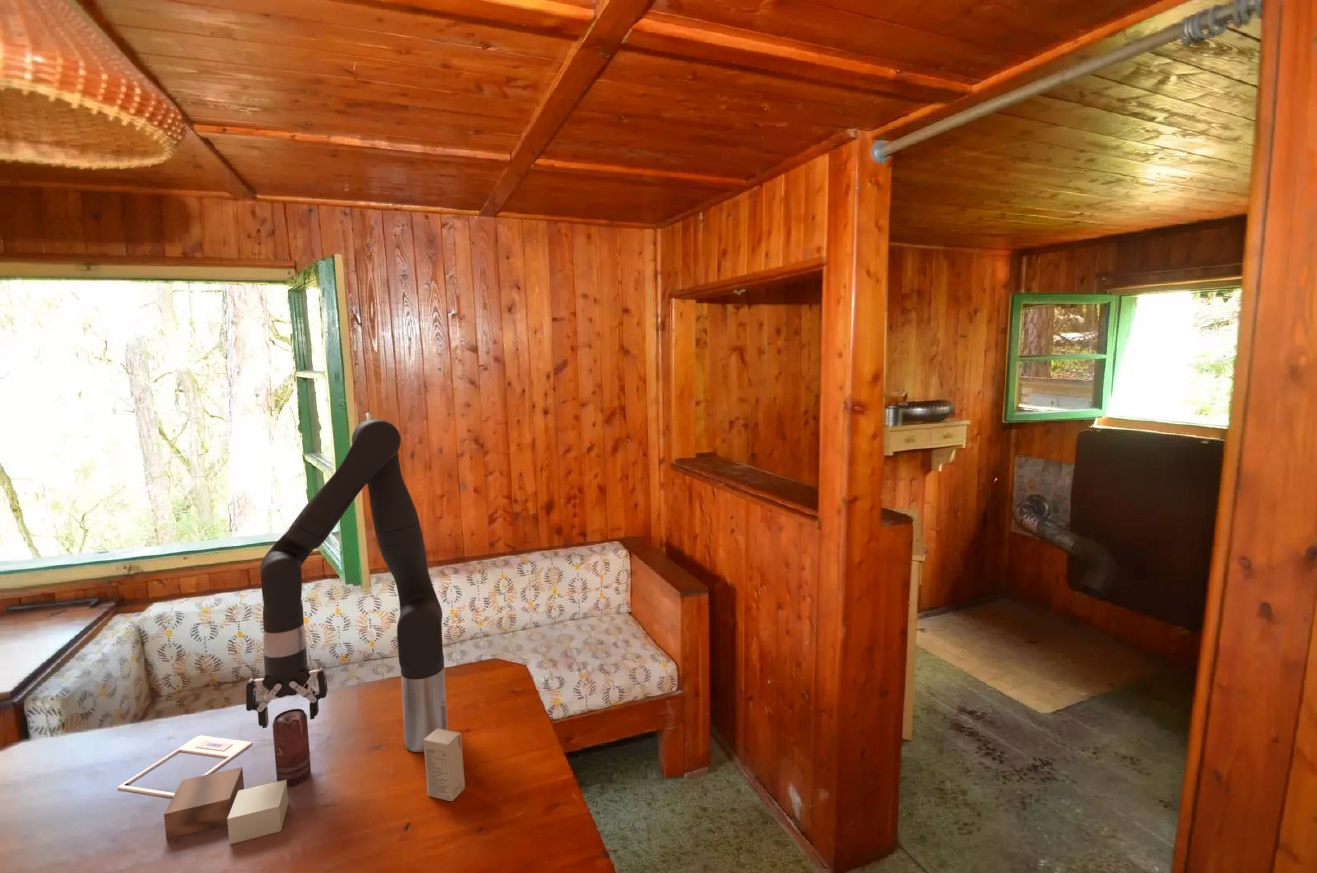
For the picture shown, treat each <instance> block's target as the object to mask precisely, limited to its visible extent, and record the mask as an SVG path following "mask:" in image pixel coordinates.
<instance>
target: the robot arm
mask: <svg viewBox="0 0 1317 873" xmlns="http://www.w3.org/2000/svg"><path fill="white" fill-rule="evenodd" d="M401 439H402V437H401V434H400V432H399V430H398V429H397V427H396V426H395V425H394V424H392V423H391V422H389V421H386V420H383V419H380V418H379V419H378V418H372V419H366V420H364V421H362V422H361V423H359V424H358V425H357V426H356V427H355V429H354V431H353V433H352V436H351V446H350V447H349V450H348V452H347V454H346V455H345V457H344V459H343V460H342V462H341V464H340V465H339V467H338V468H337V469H336V471H335V472H334V473H333V474H332V476H331V477H330V478H329V479H328V480H327V481H326V482H325V484H323V486H322V487H320V489H319V490H318V491H317V492H316V493H315V494H314V496H313V497H311V499H310V500H309V501H308V502H307V504H306V505H305V506H304V508H303V509H302V510H301V511H300V513H299V514H298V516H297V517H296V518H295V519H294V521H293V522H292V523H291V525H290V526H289V529H287V531H285V533H283V535H282V536H281V537H280V538H279V539H278V540H277V541H276V542H275V543H274V544H273V546H272V547H271V548H270V549H269V550H268V551H267V553H265V555H264V557H263V559H262V561H261V563H260V567H259V570H260V571H259V574H260V575H259V576H260V586H261V594H262V601H263V609H262V625H263V635H262V636H263V637H262V652H263V666H264V677H261V678H256V677H255V676H251V677H250V678H249V679H248V681H247V684H246V685H245V686H246V691H245V693H246V695H245V709H246V711H248V712H251V711H255V712H257V720H258V726H259V727H262V729H267V728H268V726H269V721H270V720H269V708H268V705H269V704H270V702H272V700H273V698H274V697H277V698H284V697H286V696H296V694H299V695H300V696H301V697H302V698H306V699H307V700H308V701H309V719H310V720H314V719H315V718H316V716H318V713H319V711H320V708H319V707H320V706H319V700H321V699H325V698H326V697H327V694H328V691H329V690H328V689H329V688H328V681H327V673H326V668H325V666H324V665H323V666H322V665H321V666H320V667H319V668H318V669H317V668H316V669H313V670H310V668H309V666H308V652H307V650H308V649H307V648H308V646H307V634H306V633H307V632H306V628H305V627H306V626H305V619H304V618H305V617H304V605H303V600H302V596H303V595H302V593H303V571H302V565H303V564H304V562H305V561H306V560H307V559H308V557H309V556H310V555H311V553H312V552H313V551H314V550H316V549H318V548H320V547H321V546H322V544H323V543H324V542H326V540H327V538H328V537H329V535H330V534H331V533H332V531H333V530H334V529H335V527H336V526H337V524H339V522H340V521H341V519H342V517H343V516H344V515H345V513H346V512H347V511H348V509H349V508H350V506H351V504H352V503H353V502H354V500H355V499H356V498H357V496H358V495H359V493H360V492H361V491H362V490H363V488H364V487H365V486H366V485H367V489H368V498H369V499H368V500H369V505H370V506H369V507H370V512H371V517H372V523H373V529H374V532H375V533H374V534H375V537H376V541H377V544H378V545H377V546H378V548H379V550H380V554H381V557H382V558H383V561H384V563H385V564H386V566H387V568H388V569H389V572H390V573H391V575H392V577H393V579H394V581H395V586H396V589H397V590H396V591H397V595H398V601H399V603H398V604H399V618H398V622H397V627H396V638H397V640H396V641H397V651H398V652H397V653H398V654H397V655H398V664H399V666H400V677H401V680H400V681H401V698H402V700H401V701H402V715H403V719H402V720H403V734H404V736H403V738H404V747H405V748H406V750H408V751H411V752H414V753H415V752H416V753H423V752H424V742H423V739H424V738H426V737H427V736H428V735H429V734H431V733H432V732H433V731H434V730H436V729H437V728H439V729H445V730H449V728H448V726H449V725H448V711H447V710H448V708H447V704H448V703H447V699H446V698H447V697H446V679H445V678H446V677H445V676H446V675H445V656H444V651H443V650H444V648H443V626H442V624H443V610H442V606H441V603H440V602H439V598H438V596H437V594H436V591H435V587H434V585H433V582H432V580H431V577H430V573H429V566H428V559H427V551H426V546H425V540H424V536H423V531H422V526H421V524H420V523H421V522H420V518H419V516H418V512H417V509H416V506H415V503H414V501H413V499H412V497H411V494H410V493H409V490H408V488H407V485H406V483H405V480H404V477H403V475H402V471H401V465H400V459H399V451H400V447H401V443H402V440H401ZM310 678H313V680H314V681H316V682H317V684H318V690H315V689H314V688H313V686H312V685H311V683H309V682H308V681H309V680H310ZM260 686H263V687H264V688H265V689H266V690H267V692H266V693H265V695H264V696H263V698H262V699H261V700H259V701H258V700H257V691H258V690H259V689H260Z"/></svg>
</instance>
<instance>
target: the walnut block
mask: <svg viewBox="0 0 1317 873" xmlns="http://www.w3.org/2000/svg"><path fill="white" fill-rule="evenodd" d="M202 775H203V776H202ZM202 775H201V776H195V777H190V778H186V779H182V780H181V781H180V783H179V785H178V787H177V789H176V791H175V792H174V793H175V794H174V796H173V798H171V800H170V802H169V803H168V806H167V808H166V810H164V813H163V817H164V818H163V819H164V828H165V839H166V840H169V839H173V838H178V837H181V836H186V835H189V834H190V835H191V834H193V833H198V832H202V831H206V830H210V829H215V828H218V827H222V826H226V825H227V826H228V821H227V818H228V816H229V813H230V811H231V808H232V806H233V803H234V800H235V798H236V795H237V793H238V791H239V790H243V789H245V783H244V770H243V766H240V767H236V768H232V769H226V770H222V771H218V772H217V771H216V772H213V773H212V774H208V775H204V774H202Z"/></svg>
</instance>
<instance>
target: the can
mask: <svg viewBox="0 0 1317 873" xmlns="http://www.w3.org/2000/svg"><path fill="white" fill-rule="evenodd" d="M272 735H273V736H272V737H273V738H272V739H273V749H274V758H275V759H274V760H275V762H274V763H275V772H276V782H278V781H283V780H287V788H291V787H294V786H295V787H296V786H297V785H300V784H302V783H304V782H305V781H306V780H307V779H308V778H309V776H310V774H311V771H312V770H311V769H312V768H311V754H310V752H311V751H310V743H309V742H310V740H309V739H310V738H309V727H308V715H307V713H306V711H305V710H304V709H302V708H293V709H292V708H291V709H288V710H284V711H282V712H280V713H278V714H277V715H276V716H275V718H274V719H273V722H272Z"/></svg>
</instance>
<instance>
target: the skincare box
mask: <svg viewBox="0 0 1317 873" xmlns="http://www.w3.org/2000/svg"><path fill="white" fill-rule="evenodd" d="M423 742H424V765H425V777H426V791H427V796H428V797H430V798H431V797H432V798H436V799H439V800H444V801H449V802H453V801H454V800H455V799H456V798H457V797H458V796H459V795H460V794H462V792H463V791H464V790H465V788H466V787H465V786H466V784H465V772H464V771H465V769H464V768H465V767H464V756H463V755H464V754H463V740H462V733H461V732H459V731H454V730H450V729H448V730H445V729H439V728H437V729H436V730H434V731H433V732H432V733H431V734H429V735H428V736H427V737H426V738H424V739H423Z"/></svg>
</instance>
